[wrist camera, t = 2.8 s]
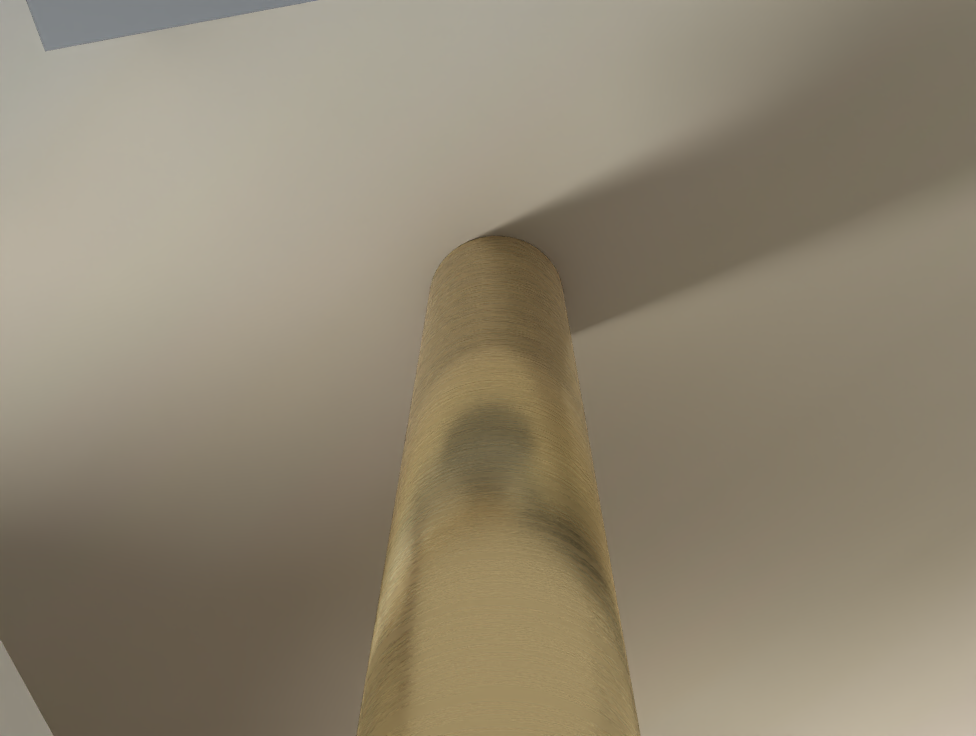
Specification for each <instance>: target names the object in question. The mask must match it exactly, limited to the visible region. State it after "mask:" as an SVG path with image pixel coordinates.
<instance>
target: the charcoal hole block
mask: <svg viewBox="0 0 976 736" xmlns="http://www.w3.org/2000/svg"><path fill="white" fill-rule="evenodd" d="M26 1H27V4H28V6H29V9H30V12H31V14H32V17H33V20H34V22H35V25H36V28H37V30H38V33H39V36H40V38H41V41H42V44H43V47H44V49H45V51H49V50H54V49H60V48H65V47H70V46H76V45H81V44H86V43H92V42H97V41H102V40H108V39H113V38H118V37H124V36H129V35H134V34H140V33H145V32H151V31H156V30H161V29H167V28H172V27H177V26H183V25H188V24H193V23H199V22H204V21H209V20H215V19H220V18H225V17H231V16H236V15H241V14H247V13H252V12H257V11H263V10H268V9H273V8H279V7H284V6H290V5H295V4H300V3H306V2H311V1H316V0H26Z"/></svg>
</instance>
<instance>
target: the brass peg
mask: <svg viewBox="0 0 976 736" xmlns="http://www.w3.org/2000/svg"><path fill="white" fill-rule="evenodd" d="M356 736H640V730H639V724H638V719H637V713H636V707H635V701H634V696H633V690H632V684H631V678H630V673H629V667H628V661H627V655H626V650H625V644H624V638H623V632H622V627H621V621H620V615H619V609H618V604H617V598H616V592H615V587H614V581H613V575H612V569H611V564H610V558H609V552H608V546H607V541H606V535H605V529H604V523H603V518H602V512H601V506H600V500H599V495H598V489H597V483H596V477H595V472H594V466H593V460H592V454H591V449H590V443H589V437H588V431H587V426H586V420H585V414H584V408H583V403H582V397H581V391H580V385H579V380H578V374H577V368H576V362H575V357H574V351H573V345H572V339H571V334H570V328H569V322H568V317H567V311H566V305H565V299H564V294H563V288H562V284H561V280H560V277H559V275H558V273H557V271H556V269H555V267H554V266H553V264H552V263H551V261H550V260H549V259H548V258H547V257H546V256H545V255H544V254H543V253H542V252H541V251H539V250H538V249H537V248H535V247H534V246H532V245H530V244H529V243H526V242H524V241H522V240H519V239H515V238H511V237H505V236H489V237H482V238H478V239H474V240H472V241H469V242H467V243H465V244H463V245H461V246H459V247H458V248H456V249H455V250H453V251H452V252H451V253H450V254H449V255H448V256H447V257H446V258H445V259H444V260H443V261H442V263H441V264H440V265H439V267H438V269H437V270H436V272H435V275H434V277H433V280H432V283H431V287H430V293H429V299H428V305H427V311H426V317H425V323H424V329H423V335H422V342H421V348H420V354H419V360H418V366H417V372H416V378H415V384H414V390H413V396H412V402H411V408H410V414H409V420H408V426H407V432H406V438H405V444H404V451H403V457H402V463H401V469H400V475H399V481H398V487H397V493H396V499H395V505H394V511H393V517H392V523H391V529H390V535H389V541H388V547H387V553H386V560H385V566H384V572H383V578H382V584H381V590H380V596H379V602H378V608H377V614H376V620H375V626H374V632H373V638H372V644H371V650H370V656H369V662H368V669H367V675H366V681H365V687H364V693H363V699H362V705H361V711H360V717H359V723H358V729H357V735H356Z"/></svg>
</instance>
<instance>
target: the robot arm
mask: <svg viewBox="0 0 976 736" xmlns="http://www.w3.org/2000/svg"><path fill="white" fill-rule="evenodd" d="M0 736H53V734H52V732H51V730H50V729H49V727H48V725H47V723H46V721H45V720H44V718H43V716H42V714H41V712H40V710H39V709H38V707H37V705H36V703H35V701H34V700H33V698H32V696H31V694H30V692H29V691H28V689H27V687H26V685H25V683H24V681H23V680H22V678H21V676H20V674H19V672H18V671H17V669H16V667H15V665H14V663H13V661H12V660H11V658H10V656H9V654H8V652H7V651H6V649H5V647H4V645H3V643H2V641H1V640H0Z"/></svg>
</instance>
